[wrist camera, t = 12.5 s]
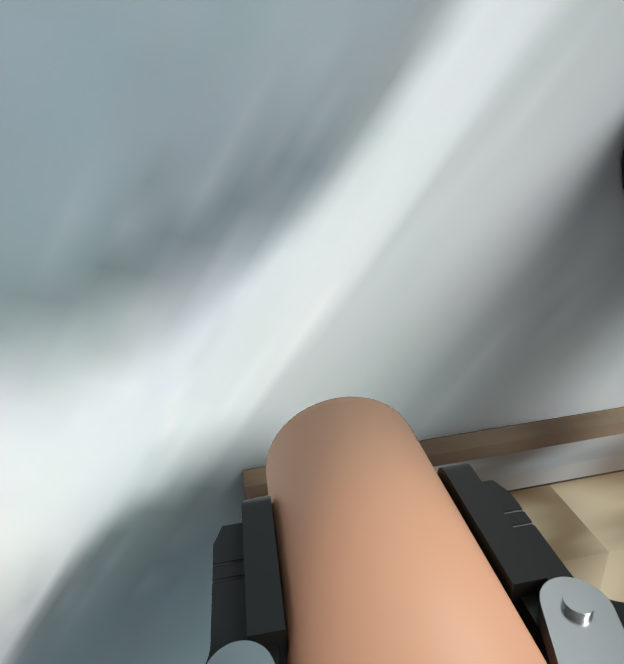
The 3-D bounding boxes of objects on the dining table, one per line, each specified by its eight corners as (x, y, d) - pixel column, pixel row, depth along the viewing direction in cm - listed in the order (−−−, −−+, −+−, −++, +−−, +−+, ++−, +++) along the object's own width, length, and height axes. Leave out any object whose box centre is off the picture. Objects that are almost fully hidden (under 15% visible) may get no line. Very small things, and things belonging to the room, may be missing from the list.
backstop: (755, 384, 23) (1044, 532, 15) (676, 619, 30) (848, 809, 22) (242, 470, 20) (258, 710, 12) (281, 708, 27) (307, 967, 19)
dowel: (417, 385, 14) (625, 688, 7) (415, 508, 16) (578, 851, 8) (256, 410, 13) (293, 764, 6) (274, 533, 15) (318, 919, 8)
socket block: (731, 437, 23) (837, 505, 19) (669, 625, 28) (742, 709, 24) (465, 485, 21) (520, 570, 17) (451, 675, 26) (492, 773, 22)
